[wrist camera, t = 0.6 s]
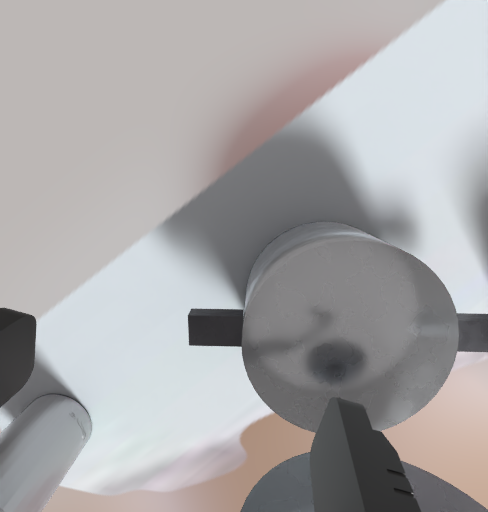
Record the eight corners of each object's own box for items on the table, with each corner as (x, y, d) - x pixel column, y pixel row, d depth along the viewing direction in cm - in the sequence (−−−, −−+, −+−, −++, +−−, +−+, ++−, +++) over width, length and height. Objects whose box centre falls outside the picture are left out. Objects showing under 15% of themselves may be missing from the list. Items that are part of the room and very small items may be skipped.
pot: (430, 366, 41) (500, 441, 29) (206, 360, 42) (187, 431, 30) (451, 222, 36) (542, 242, 25) (203, 220, 38) (178, 238, 26)
